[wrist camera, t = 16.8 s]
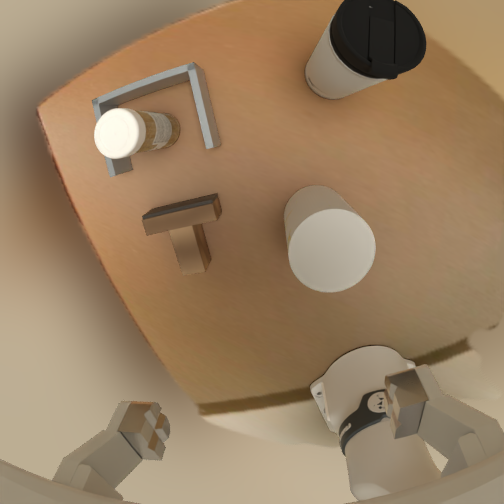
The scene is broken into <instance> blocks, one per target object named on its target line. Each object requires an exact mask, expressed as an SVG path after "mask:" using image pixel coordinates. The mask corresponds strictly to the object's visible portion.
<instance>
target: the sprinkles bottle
mask: <svg viewBox="0 0 504 504" xmlns="http://www.w3.org/2000/svg"><path fill="white" fill-rule="evenodd" d="M179 132H180V126H179V123H178V121H177V120H176V118H175V117H173V116H172V115H170V114H166V113H155V112H146V111H134V110H132V109H127V108H115V109H111V110H109V111H107V112H106V113H104V114H103V115H102V116H101V118H100V119H99V120H98V122H97V124H96V127H95V132H94V139H95V143H96V146H97V148H98V150H99V151H100V152H101V153H102V154H103V155H104V156H106V157H108V158H112V159H120V158H124V157H128V156H131V155H133V154H134V153H138V152H145V151H151V150H156V149H159V148H167V147H170V146H171V145H173V144H174V143H175V142H176V140H177V139H178V137H179Z"/></svg>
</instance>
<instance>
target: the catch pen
mask: <svg viewBox="0 0 504 504" xmlns="http://www.w3.org/2000/svg"><path fill="white" fill-rule="evenodd" d="M189 80H190V81H191V86H192V90H193V95H194V99H195V103H196V107H197V112H198V116H199V120H200V125H201V129H202V133H203V137H204V141H205V146H206V149H209V148H213V147H217V146H220V145H221V143H220V139H219V135H218V130H217V126H216V122H215V117H214V113H213V109H212V105H211V100H210V96H209V92H208V87H207V83H206V79H205V75H204V70H203V69H201V68H200V67H199V66H198V65H197V64H195V63H194V62H193V63H190V64H186V65H183V66H180V67H177V68H173V69H170V70H167V71H164V72H161V73H158V74H156V75H153V76H150V77H147V78H144V79H142V80H139V81H136V82H134V83H131V84H129V85H126V86H124V87H121V88H119V89H116V90H114V91H112V92H109V93H107V94H105V95H102V96H100V97H98V98H96V99H94V100H92V103H93V108H94V113H95V117H96V122H98V120H99V119H100V118H101V116H102V115H103V114H104V113H106V112H107V111H109V110H111V109H115V108H118V106H117V105H120V104H122V103H125V102H127V101H130V100H133V99H135V98H138V97H141V96H143V95H146V94H149V93H152V92H155V91H158V90H161V89H164V88H167V87H170V86H173V85H176V84H179V83H183V82H186V81H189ZM105 160H106V164H107V167H108V171H109V175H110V177H113V176H116V175H118V174H121V173H124V172H127V171H130V170H133V168H132V164H131V161H130V157H129V156H128V157H124V158H120V159H112V158H108V157H106V156H105Z"/></svg>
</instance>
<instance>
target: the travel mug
mask: <svg viewBox="0 0 504 504" xmlns="http://www.w3.org/2000/svg"><path fill="white" fill-rule="evenodd" d="M425 51H426V38H425V34H424V31H423V28H422V26H421V24H420V22H419V21H418V19H417V18H416V17H415V15H414V14H413V13H412V12H411V11H410V10H409V9H408V8H407V7H406V6H404V5H403V4H401V3H399V2H397V1H393V0H344V1H343V2H342V4H341V5H340V7H339V8H338V10H337V12H336V13H335V14H334V16H333V17H332V19H331V21H330V22H329V24H328V26H327V28H326V30H325V31H324V33H323V35H322V37H321V39H320V40H319V42H318V44H317V46H316V48H315V49H314V51H313V53H312V55H311V57H310V59H309V60H308V62H307V65H306V67H305V78H306V82H307V84H308V86H309V87H310V89H311V90H312V91H313V92H314V93H316V94H317V95H318V96H320V97H323V98H326V99H332V100H335V99H340V98H343V97H346V96H348V95H350V94H353V93H355V92H358V91H360V90H362V89H365V88H367V87H370V86H372V85H375V84H377V83H380V82H382V81H385V80H389V79H395V78H397V76H398V75H399V74H401V73H404V72H406V71H409V70H411V69H413V68H415V67H416V66H417V65H418V64H419V63H420V62H421V61H422V59H423V57H424V55H425Z"/></svg>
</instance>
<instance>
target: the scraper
mask: <svg viewBox="0 0 504 504" xmlns="http://www.w3.org/2000/svg"><path fill="white" fill-rule="evenodd" d="M221 212H222V210H221V206H220V202H219V198H218V194H217V193H216V194H212V195H208V196H203V197H199V198H195V199H190V200H186V201H182V202H178V203H174V204H170V205H166V206H162V207H158V208H154V209H151V210H150V211H149V212H147V213H146V214H144V215H143V216H142V217H143V220H142V222H143V226H144V229H145V232H146V235H152V234H156V233H161V232H165V231H169V234H170V237H171V240H172V243H173V247H174V250H175V253H176V256H177V259H178V262H179V265H180V269H181V272H182V275H183V276H185V275H191V274H196V273H202V272H206V270H207V268H208V265H209V263H210V261H211V256H210V253H209V249H208V246H207V242H206V239H205V235H204V231H203V228H202V223H207V222H211V221H216V220H217V219H218V217H219V216H220V214H221Z"/></svg>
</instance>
